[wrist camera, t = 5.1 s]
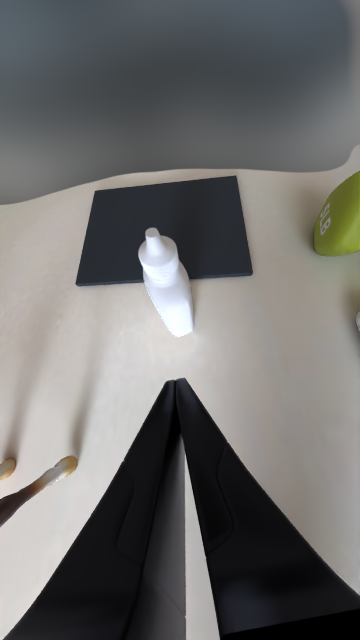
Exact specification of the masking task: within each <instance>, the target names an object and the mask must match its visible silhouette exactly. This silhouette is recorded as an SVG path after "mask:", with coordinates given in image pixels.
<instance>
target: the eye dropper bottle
mask: <svg viewBox="0 0 360 640" xmlns="http://www.w3.org/2000/svg"><path fill="white" fill-rule="evenodd" d="M145 235H146V240H145V241H144V242H143V243H142V245H141V246H140V248H139V251H138V252H139V253H138V254H139V255H138V256H139V259H140V262H141V264H142V266H143V278H144V283H145V287H146V289H147V292H148V294H149V296H150V298H151V300H152V302H153V303H154V305H155V307H156V309H157V311H158V312H159V314H160V316H161V318H162V320H163V321H164V323H165V325H166V327H167V328H168V330H169V331H170V332H171V333H172V334H173V335H174V336H176V337H180V336H183V335H185V334H188V333H190V332H192V331H193V329H194V317H193V304H192V293H191V286H190V281H189V277H188V274H187V272H186V270H185V268H184V266H183V265H182V263H181V262H180V261H179V258H178V252H177V247H176V244H175V242H174V241H173V240H171V239H170V238H168V237H166V236H160V234H159V232H158V230H157V229H156V228H149V229H147V230H146V232H145Z"/></svg>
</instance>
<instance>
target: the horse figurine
mask: <svg viewBox="0 0 360 640" xmlns="http://www.w3.org/2000/svg"><path fill="white" fill-rule="evenodd" d="M77 466H78V460H77V459H76V458H75V457H74V456H67V457H65V458H63V459H61V460H60V461H59V462H58V463H57V464H56V465H55V467H54V468H51V469H49V470H47V471H46V472H45V473H44V474H43V475H42V476H41V477H40V478H38V479H37V480H36V481H34V482H33V483H32V484H30V485H28V486H27V487H25V488H23V489H21V490H20V491H18V492H17V493H14V494H11V495H8V496H6V497H3V498H2V499H0V527H1V526H2V525H3V524H4V523H5V522H6V521H7V520H8V519H9V518H10V517H11V516H12V515H13V514H14V513H15V512H16V511H17V509H18V508H19V507H21V506H22V505H23V504H24V503H25V502H26V501H28V500H29V499H31V498H32V497H33V496H34V495H36V494H37V493H38V492H40V491H41V490H43V489H44V488H45V487H47V486H49V485H51V484H53V483H54V482H55V481H56V480H60V479H62V478H64V477H66V476H68V475H70V474H71V473H72V472H73V471H75V469H76V468H77ZM14 470H15V461H14V460H13V459H7V460H5V461H4V462H3V463H1V464H0V480H2V479H5V478H7V477H9V476H10V475H11V474H12V473H13V471H14Z"/></svg>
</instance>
